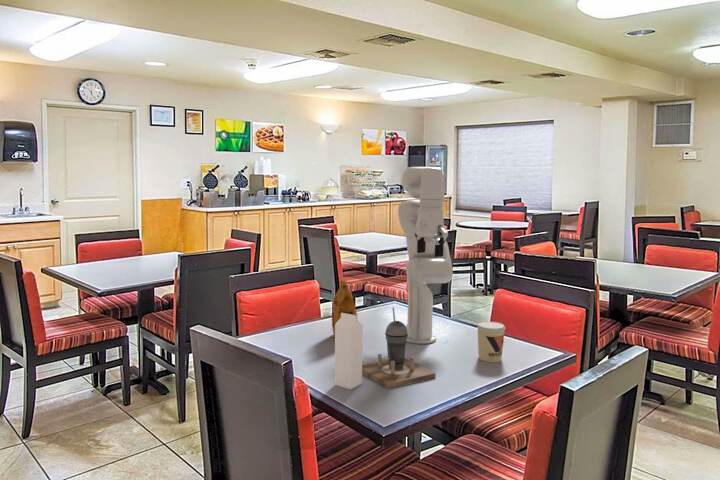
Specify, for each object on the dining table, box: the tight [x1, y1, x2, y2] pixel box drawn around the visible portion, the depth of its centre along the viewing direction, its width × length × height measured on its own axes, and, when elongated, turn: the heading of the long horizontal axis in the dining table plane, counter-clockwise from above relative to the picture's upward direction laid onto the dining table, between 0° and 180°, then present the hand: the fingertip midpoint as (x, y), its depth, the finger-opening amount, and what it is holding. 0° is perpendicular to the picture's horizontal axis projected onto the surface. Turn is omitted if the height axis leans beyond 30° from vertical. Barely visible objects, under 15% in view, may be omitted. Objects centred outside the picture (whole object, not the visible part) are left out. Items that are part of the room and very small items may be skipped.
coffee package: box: [331, 279, 359, 337], centre depth 219 cm, size 10×12×22 cm
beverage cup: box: [384, 307, 408, 371], centre depth 181 cm, size 7×7×20 cm
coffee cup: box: [476, 321, 506, 363], centre depth 197 cm, size 9×9×12 cm
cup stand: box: [362, 353, 437, 390], centre depth 182 cm, size 18×18×6 cm
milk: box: [334, 313, 363, 390], centre depth 172 cm, size 6×6×22 cm
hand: (429, 254), depth 194 cm, fingers open, 9 cm apart
